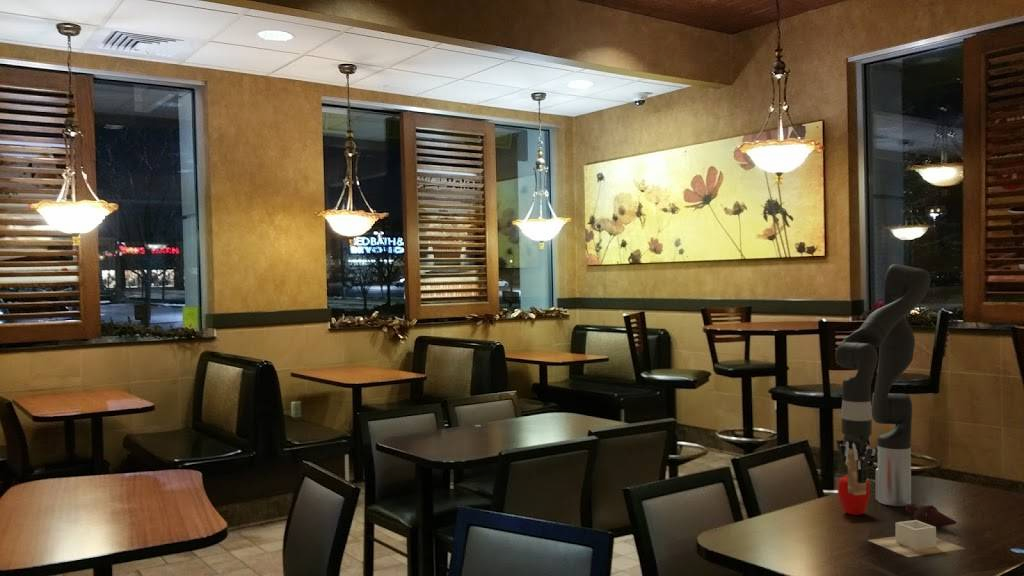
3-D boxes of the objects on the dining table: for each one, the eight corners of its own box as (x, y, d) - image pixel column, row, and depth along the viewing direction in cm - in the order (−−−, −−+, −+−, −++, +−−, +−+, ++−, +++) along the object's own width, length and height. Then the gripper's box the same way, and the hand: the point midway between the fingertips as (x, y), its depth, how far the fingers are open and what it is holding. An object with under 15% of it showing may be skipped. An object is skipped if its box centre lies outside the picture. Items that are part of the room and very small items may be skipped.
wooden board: (867, 543, 219) (867, 540, 219) (922, 536, 224) (922, 532, 224) (907, 561, 205) (907, 557, 205) (965, 552, 211) (965, 548, 211)
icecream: (965, 510, 226) (914, 502, 239) (948, 507, 222) (897, 499, 235) (963, 537, 224) (912, 527, 237) (946, 534, 221) (895, 525, 234)
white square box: (895, 541, 217) (895, 522, 217) (916, 539, 219) (916, 520, 219) (915, 549, 211) (914, 529, 211) (936, 546, 213) (936, 527, 213)
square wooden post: (847, 492, 227) (847, 448, 227) (857, 491, 228) (857, 447, 228) (856, 495, 224) (856, 450, 224) (866, 494, 225) (865, 449, 225)
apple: (855, 507, 252) (854, 471, 252) (877, 515, 244) (877, 478, 244) (831, 511, 249) (831, 474, 249) (852, 519, 241) (852, 481, 241)
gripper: (887, 420, 220) (887, 486, 221) (850, 412, 234) (850, 474, 234) (863, 422, 218) (863, 488, 218) (827, 413, 231) (827, 476, 232)
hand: (856, 480), depth 226 cm, fingers closed on square wooden post, 3 cm apart
